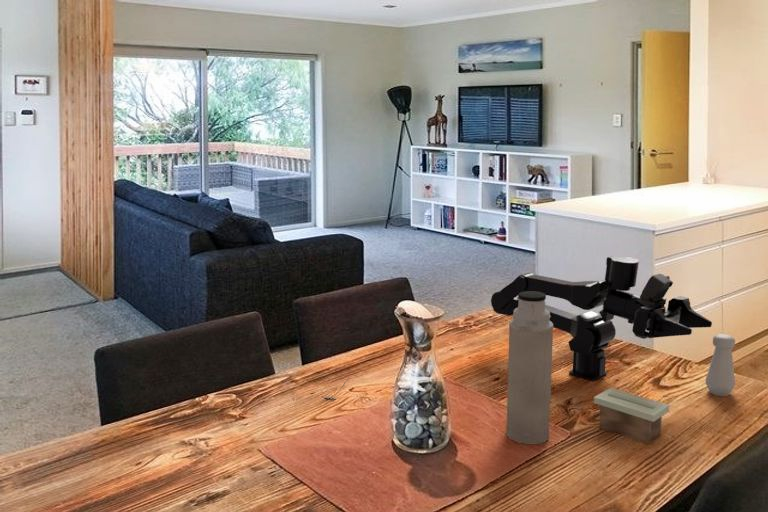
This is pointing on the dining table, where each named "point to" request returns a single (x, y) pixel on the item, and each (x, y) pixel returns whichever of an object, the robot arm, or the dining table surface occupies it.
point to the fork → (328, 397)
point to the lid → (632, 404)
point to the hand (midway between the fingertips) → (701, 328)
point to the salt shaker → (721, 366)
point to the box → (629, 425)
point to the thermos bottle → (529, 370)
